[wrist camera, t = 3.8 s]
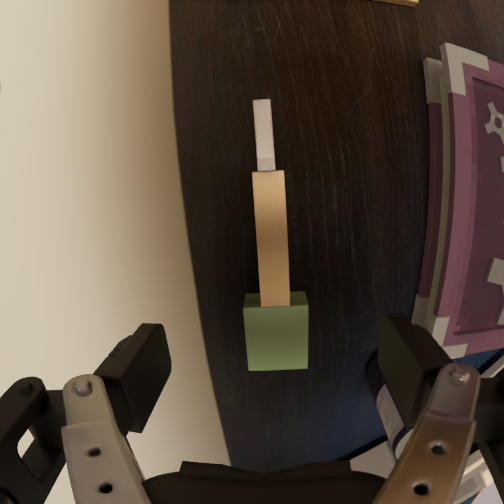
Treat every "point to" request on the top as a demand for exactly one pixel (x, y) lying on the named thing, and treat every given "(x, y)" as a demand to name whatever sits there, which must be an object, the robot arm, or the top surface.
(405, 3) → the rack
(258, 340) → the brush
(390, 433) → the beverage can
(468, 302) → the book
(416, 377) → the robot arm
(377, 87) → the top surface
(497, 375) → the alarm clock
